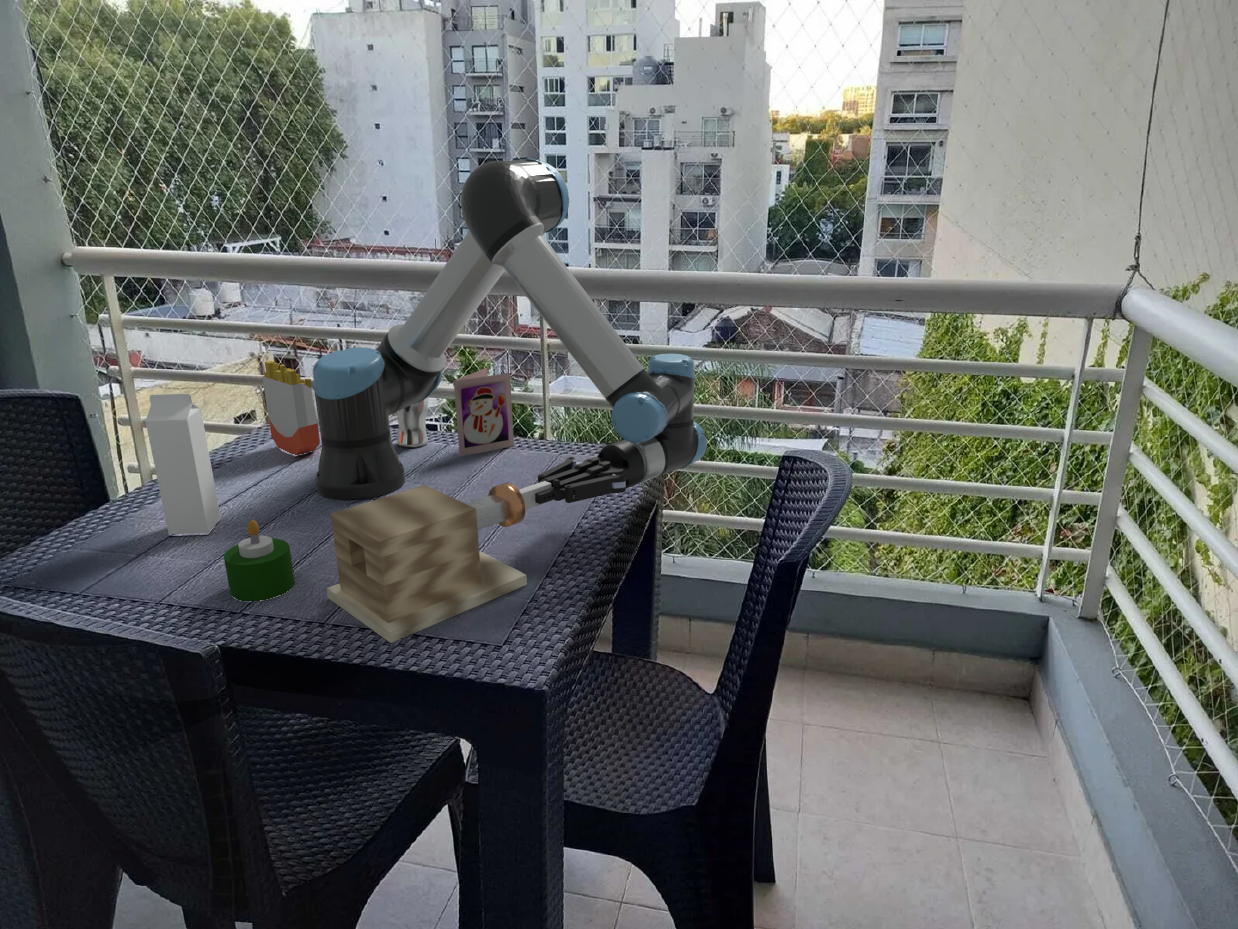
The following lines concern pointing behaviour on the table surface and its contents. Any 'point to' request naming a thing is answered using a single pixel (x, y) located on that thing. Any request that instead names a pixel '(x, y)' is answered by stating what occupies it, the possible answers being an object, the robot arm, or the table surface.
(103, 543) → the table surface
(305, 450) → the french fries container
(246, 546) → the candle
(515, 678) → the table surface
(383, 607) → the press block
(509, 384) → the greeting card
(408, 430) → the beer glass
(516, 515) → the door knob
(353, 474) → the robot arm
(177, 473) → the milk
